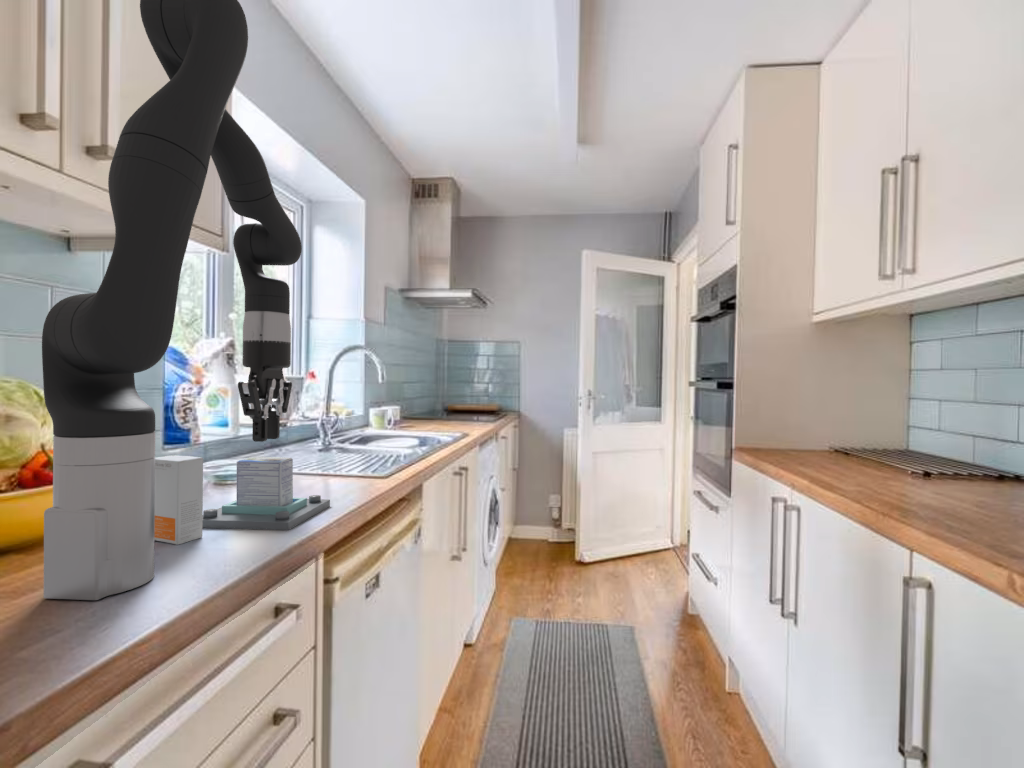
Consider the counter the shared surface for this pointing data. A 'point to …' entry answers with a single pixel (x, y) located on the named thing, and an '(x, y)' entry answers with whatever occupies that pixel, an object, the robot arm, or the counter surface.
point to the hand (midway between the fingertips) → (266, 439)
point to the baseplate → (264, 514)
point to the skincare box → (178, 498)
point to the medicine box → (265, 481)
